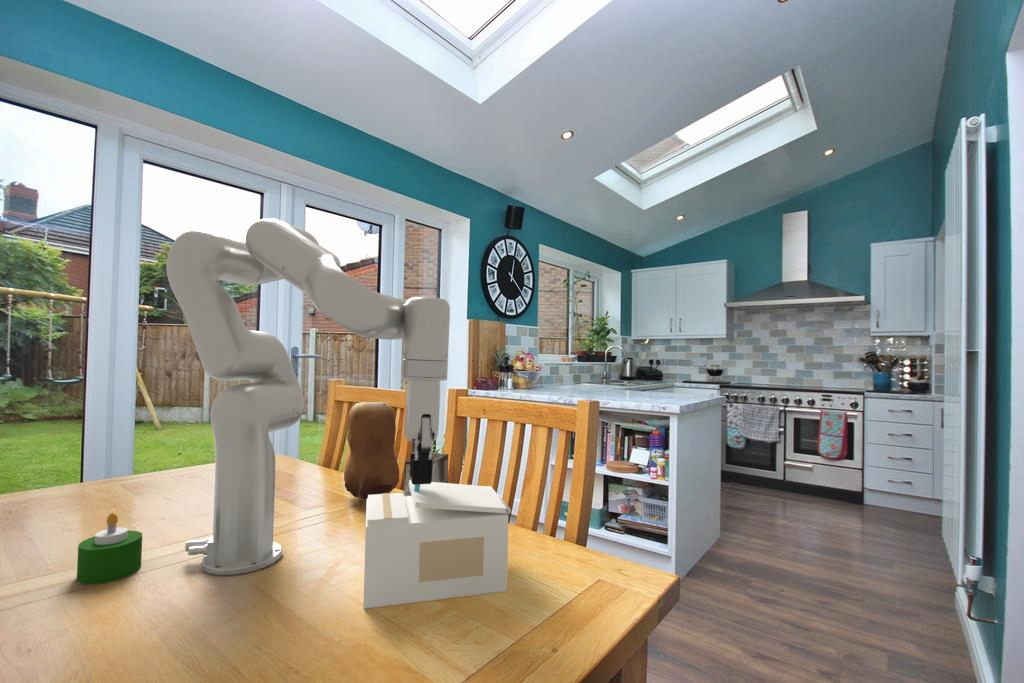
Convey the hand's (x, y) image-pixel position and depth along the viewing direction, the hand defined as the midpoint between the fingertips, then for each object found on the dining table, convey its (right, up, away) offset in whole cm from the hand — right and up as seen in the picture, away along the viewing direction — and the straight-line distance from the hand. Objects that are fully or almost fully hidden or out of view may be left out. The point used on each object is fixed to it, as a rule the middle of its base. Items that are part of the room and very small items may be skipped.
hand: (420, 479), depth 80 cm
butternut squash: (-21, -18, +43) cm, 51 cm away
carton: (+2, -17, 0) cm, 17 cm away
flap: (+6, -4, +2) cm, 7 cm away
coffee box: (-3, -17, +20) cm, 27 cm away
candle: (-52, -16, 0) cm, 55 cm away
